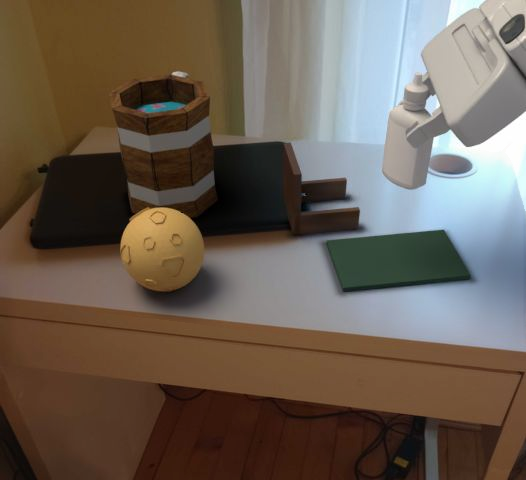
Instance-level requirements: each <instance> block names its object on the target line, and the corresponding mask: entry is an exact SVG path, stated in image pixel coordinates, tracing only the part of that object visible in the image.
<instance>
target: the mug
mask: <svg viewBox="0 0 526 480" xmlns="http://www.w3.org/2000/svg"><path fill="white" fill-rule="evenodd" d="M108 96H109V100H110V105H111V109H112V113H113V116H114V120H115V123H116V127H117V134H118V146H119V151H120V156H121V161H122V166H123V169H124V172H125V175H126V179H127V180H126V181H127V194H128V200H129V205H130V210H131V213H132V214H134V215H136V214H137V213H139V212H140V211H142V210H143V209H146V208H148V207H149V208H150V209H152V208H170V209H174V210H177V211H179V212H183V214H185V215H186V216H188V217H189V218H190V219H194V218H198V217H199V216H201V215H202V214H203V213H204V212H205V211H207V209H209V208H210V207H211V206H212V205H214V204H215V203H216V202H217V201H218V200H219V198H218V194H217V189H216V183H215V181H216V180H215V170H214V169H215V168H214V167H215V149H214V144H213V138H212V132H211V121H210V108H211V107H210V105H211V104H210V103H211V96H210V94H209V92H208V90H207V88H206V86H205V83H204V82H203V81H202V80H197V79H192V78H190V76H189V74H188V73H187V72H183V71H178V70H177V71H173V72H172V73H171V74H165V75H156V76H149V77H139V78H134V79H131V80H130V81H128V82H126V83H124V84H123V85H121V86H119V87H116V88H115V89H114V90H112V91H110V92H108ZM215 194H216V195H215ZM210 198H211V199H210ZM209 199H210V200H209ZM203 204H204V205H203ZM199 207H200V208H199ZM198 208H199V209H198ZM197 209H198V210H197ZM194 210H196V211H194ZM187 211H190V212H187Z"/></svg>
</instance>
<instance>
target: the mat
mask: <svg viewBox="0 0 526 480" xmlns="http://www.w3.org/2000/svg"><path fill="white" fill-rule="evenodd" d="M325 244H326V247H327V250H328V254H329V256H330V259H331V262H332V264H333V268H334V270H335V273H336V276H337V278H338V283H339V285H340V287H341V291H342V292H351V291H352V292H353V291H361V290H371V289H380V288H381V289H382V288H392V287H402V286H411V285H412V286H413V285H421V284H430V283H431V284H433V283H442V282H452V281H461V280H470V279H471V277H472V275H471V273H470V271H469V270H468V268H467V266H466V264H465V263H464V261H463V259H462V258H461V256H460V254H459V253H458V251H457V249H456V248H455V246H454V244H453V243H452V241H451V239H450V237H449V236H448V234H447V232H446V231H445V229H437V230H436V229H433V230H423V231H415V232H413V231H412V232H404V233H393V234H392V233H391V234H382V235H371V236H360V237H349V238H347V237H346V238H337V239H327V240H326V241H325Z"/></svg>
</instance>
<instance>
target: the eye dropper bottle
mask: <svg viewBox="0 0 526 480" xmlns="http://www.w3.org/2000/svg"><path fill="white" fill-rule="evenodd" d="M422 76H423V73H421V72H415V73H414V76H413V79H412V82H411V83H408V84H406V85H405V86H404V90H403V97H402V100H403V104H402V105H399V106H398V105H396V106H394V107H393V108H391V109H390V110H389V112H388V119H387V125H386V131H385V132H386V133H385V139H384V148H383V156H382V165H381V172H382V174H383V176H384V177H385V179H386V180H388V181H389V182H390V183H391V184H393V185H395V186H397V187H400V188H403V189H405V190H411V191H413V190H416V189H419V188H421V187H423V186H425V185H426V183H427V178H428V172H429V167H430V161H431V156H432V151H433V144H434V139H435V137H434V138H431V139H428V140H427V141H426V142H424V143H423V144H422V145H421V146H419V147H418V148H414V147H412V146H411V145H410V143H409V142H408V141H407V139H406V135H405V132H406V130H407V129H408V128H410V127H411V126H412V125H413V124H414V123H415V122H416V121H418V123H421V122H422V121H424V120H426V119H428V118H429V117H431V116H432V114H431V113H430V112H429V111H428V110H427V109H426V105H427V100H428V99H427V94H428V87H427V86H426V85H424V84H423V83H422Z"/></svg>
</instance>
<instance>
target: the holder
mask: <svg viewBox="0 0 526 480" xmlns="http://www.w3.org/2000/svg"><path fill="white" fill-rule="evenodd" d="M282 168H283V169H282V170H283V172H282V173H283V176H282V177H283V181H282V183H283V186H282V188H283V192H282V193H284V196H283V195H282V198H283V199H282V200H283V205H284V208H285V212H286V215H287V218H288V222H289V226H290V229H291V233H292V235H293V236H296V235H306V234H318V233H328V232H340V231H351V230H358V229H359V226H360V217H361V216H360V215H361V209H360V207H359V206H356V207H355V206H354V207H344V208H331V209H321V210H320V209H319V210H310V211H302V203H313V202H323V201H333V200H345V199H346V197H347V185H348V180H347V179H348V178H347V177H337V178H324V179H313V180H303V179H302V178H303V174H302V171H301V168H300V165H299V162H298V160H297V156H296V153H295V150H294V148H293V144H292V142H289V141H288V142H283V167H282ZM301 193H305V195H306V196H302V197H301ZM284 197H285V199H284ZM285 200H286V203H287V206H286V203H285ZM287 207H288V210H289V213H290V217H291V220H290V217H289V213H288V210H287Z"/></svg>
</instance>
